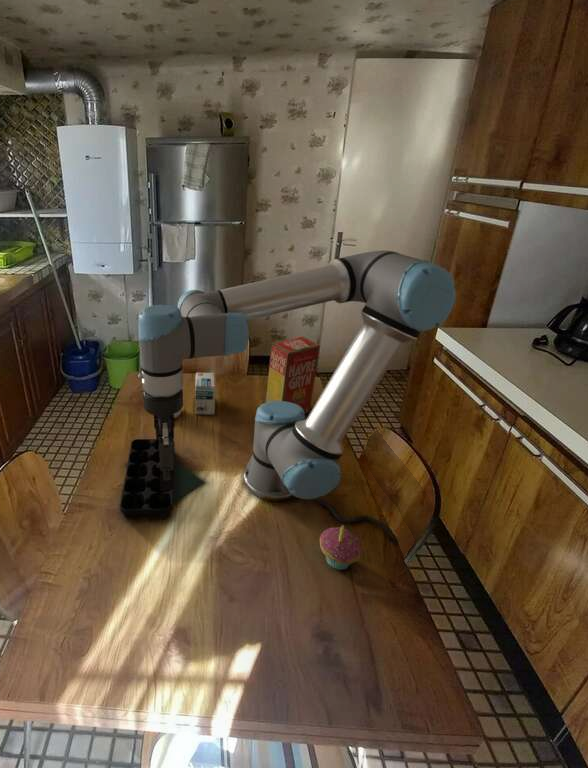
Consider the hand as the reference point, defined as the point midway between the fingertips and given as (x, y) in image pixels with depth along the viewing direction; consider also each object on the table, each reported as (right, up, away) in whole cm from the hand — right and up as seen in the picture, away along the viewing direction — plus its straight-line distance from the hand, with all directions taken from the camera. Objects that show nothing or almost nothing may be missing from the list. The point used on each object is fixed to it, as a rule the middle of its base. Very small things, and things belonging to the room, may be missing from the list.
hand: (167, 487), depth 91 cm
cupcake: (+36, -16, +3) cm, 40 cm away
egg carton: (-6, -5, +24) cm, 26 cm away
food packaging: (+37, +10, +58) cm, 70 cm away
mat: (-3, -4, +27) cm, 28 cm away
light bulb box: (+9, +11, +60) cm, 61 cm away
